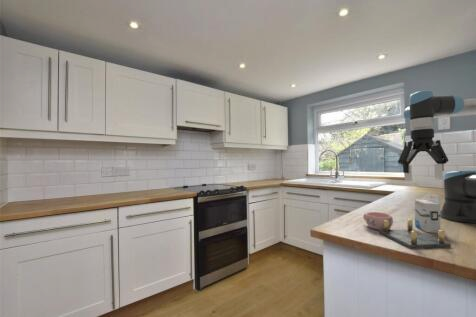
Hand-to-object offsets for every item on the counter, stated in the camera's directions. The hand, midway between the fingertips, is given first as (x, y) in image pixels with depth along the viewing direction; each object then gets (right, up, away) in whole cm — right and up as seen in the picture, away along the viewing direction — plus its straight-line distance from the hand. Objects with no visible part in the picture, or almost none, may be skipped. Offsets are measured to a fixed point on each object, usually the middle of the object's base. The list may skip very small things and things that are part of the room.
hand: (423, 180), depth 91 cm
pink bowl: (-18, -21, +3) cm, 28 cm away
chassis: (-14, -21, -11) cm, 27 cm away
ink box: (+1, -21, 0) cm, 21 cm away
